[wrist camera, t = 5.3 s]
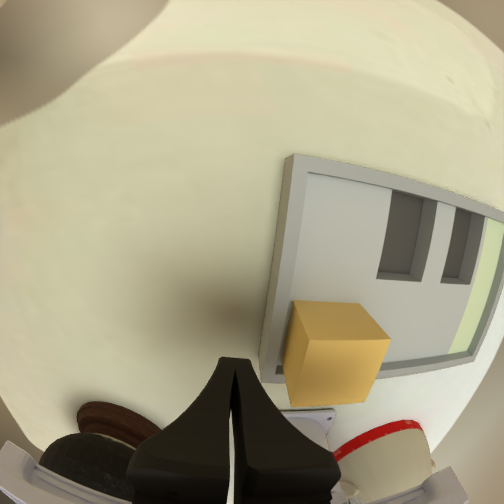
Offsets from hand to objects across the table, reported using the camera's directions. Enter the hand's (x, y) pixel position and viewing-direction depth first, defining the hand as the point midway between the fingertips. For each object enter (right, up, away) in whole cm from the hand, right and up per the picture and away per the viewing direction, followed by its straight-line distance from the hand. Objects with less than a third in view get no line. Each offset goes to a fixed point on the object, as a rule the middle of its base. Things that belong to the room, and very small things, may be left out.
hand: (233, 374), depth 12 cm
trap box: (+13, +3, +7) cm, 15 cm away
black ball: (-13, -14, +11) cm, 22 cm away
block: (+5, 0, +5) cm, 7 cm away
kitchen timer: (+16, -20, +13) cm, 29 cm away
